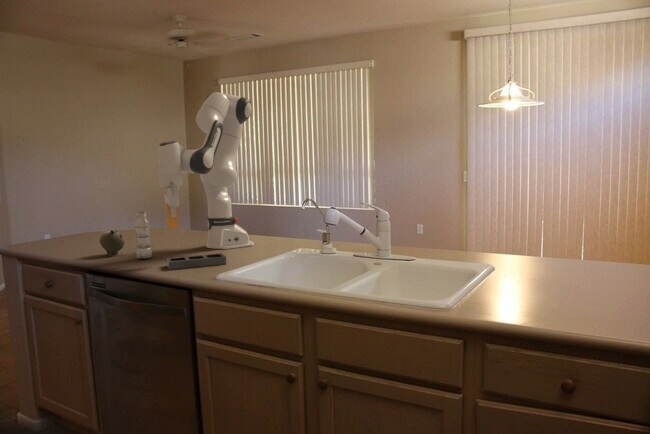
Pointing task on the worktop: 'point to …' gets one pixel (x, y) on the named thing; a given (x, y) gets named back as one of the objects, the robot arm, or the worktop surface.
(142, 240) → the plastic bottle
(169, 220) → the orange block
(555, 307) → the worktop surface
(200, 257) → the grey compartment tray
